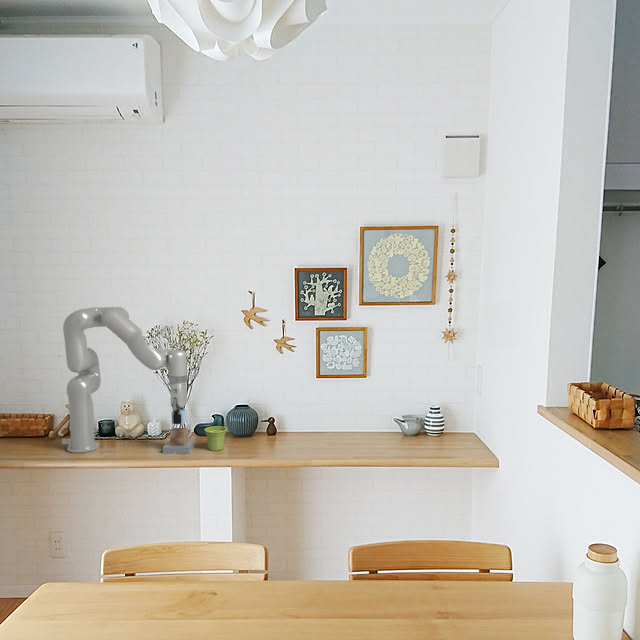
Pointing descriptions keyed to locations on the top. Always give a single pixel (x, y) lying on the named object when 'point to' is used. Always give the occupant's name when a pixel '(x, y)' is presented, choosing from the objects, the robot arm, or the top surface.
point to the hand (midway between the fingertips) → (179, 421)
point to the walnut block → (178, 436)
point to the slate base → (179, 447)
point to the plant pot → (215, 437)
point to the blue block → (182, 416)
